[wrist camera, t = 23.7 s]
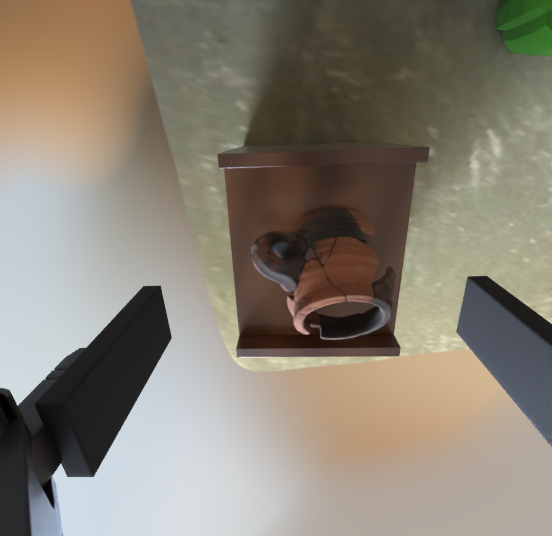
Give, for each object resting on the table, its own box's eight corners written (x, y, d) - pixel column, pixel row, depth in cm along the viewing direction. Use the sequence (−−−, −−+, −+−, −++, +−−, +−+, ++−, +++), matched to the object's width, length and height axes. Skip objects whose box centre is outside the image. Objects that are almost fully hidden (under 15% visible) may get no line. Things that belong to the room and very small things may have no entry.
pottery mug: (402, 217, 27) (434, 302, 22) (340, 277, 34) (354, 352, 29) (270, 171, 23) (273, 263, 18) (230, 251, 30) (225, 333, 25)
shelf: (375, 141, 36) (429, 147, 22) (363, 284, 43) (399, 356, 29) (243, 145, 37) (217, 154, 23) (252, 286, 44) (237, 357, 30)
